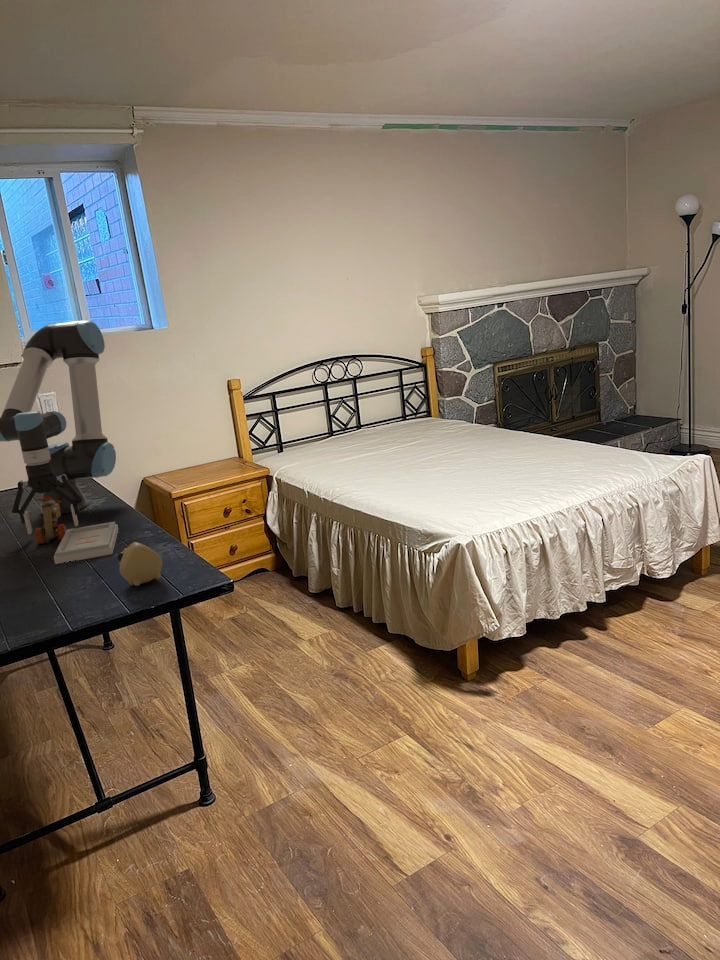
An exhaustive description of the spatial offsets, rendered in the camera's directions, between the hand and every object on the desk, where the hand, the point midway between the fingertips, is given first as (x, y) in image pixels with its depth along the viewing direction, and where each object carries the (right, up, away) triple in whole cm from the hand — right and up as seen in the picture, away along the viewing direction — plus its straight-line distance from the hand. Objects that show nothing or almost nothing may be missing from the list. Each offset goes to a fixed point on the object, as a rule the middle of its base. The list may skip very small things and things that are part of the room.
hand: (53, 529), depth 217 cm
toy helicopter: (0, -2, +1) cm, 3 cm away
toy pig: (+42, -10, -47) cm, 64 cm away
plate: (+16, -4, -14) cm, 22 cm away
